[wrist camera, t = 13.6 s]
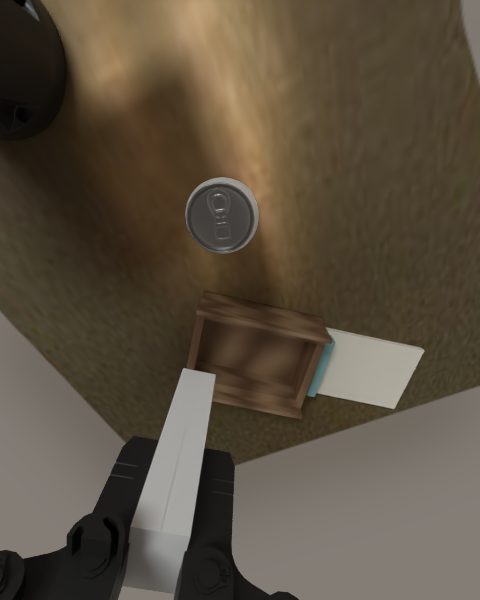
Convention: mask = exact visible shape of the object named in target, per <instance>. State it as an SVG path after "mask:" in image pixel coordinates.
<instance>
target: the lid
mask: <svg viewBox="0 0 480 600" xmlns="http://www.w3.org/2000/svg"><path fill="white" fill-rule="evenodd" d="M326 329H327V331H328V333H329V335H330V336H331V338H332V340H333V341H332V344H328V343H326V345H325V347H324V350H323V352H322V355H321V357H320V360H319V363H318V365H317V368H316V370H315V373H314V375H313V378H312V381H311V383H310V386H309V388H308V391H307V394H306V396H311V397H315V395H316V393H318V394H323V395H328V396H333V397H338V398H343V399H348V400H353V401H358V402H363V403H368V404H372V405H377V406H382V407H387V408H392V409H394V408H395V406H396V405H397V403H398V401H399V399H400V397H401V395H402V393H403V391H404V389H405V387H406V385H407V383H408V381H409V380H410V378H411V376H412V374H413V372H414V370H415V368H416V366H417V364H418V362H419V360H420V358H421V356H422V354H423V353H424V351H425V350H424V349H422V348H420V347H415V346H410V345H406V344H401V343H396V342H392V341H387V340H382V339H378V338H373V337H368V336H364V335H359V334H354V333H350V332H345V331H340V330H336V329H331V328H326Z"/></svg>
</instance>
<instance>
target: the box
mask: <svg viewBox="0 0 480 600" xmlns="http://www.w3.org/2000/svg"><path fill="white" fill-rule="evenodd" d="M196 314H197V316H196V321H195V326H194V331H193V336H192V341H191V346H190V351H189V357H188V362H187V367H186V369H190V370H195V371H200V372H205V373H210V374H215V375H216V377H215V383H214V389H213V396H212V401H214V402H219V403H223V404H228V405H233V406H238V407H243V408H248V409H252V410H257V411H262V412H267V413H272V414H277V415H281V416H286V417H291V418H296V419H302V417H303V416H302V412H301V406H302V404H303V401H304V399H305V396H306V394H307V391H308V388H309V386H310V383H311V381H312V378H313V375H314V373H315V370H316V368H317V365H318V363H319V360H320V357H321V355H322V352H323V350H324V347H325V345H326V343H328V344H332V341H333V340H332V338H331V336H330V335H329V333H328V331H327V329H326V327H325V325H324V323H323V321H322V320H321V318H320V317H318V316H313V315H309V314H305V313H300V312H296V311H291V310H287V309H283V308H278V307H274V306H269V305H265V304H261V303H256V302H252V301H247V300H243V299H239V298H234V297H230V296H225V295H221V294H216V293H212V292H208V291H204V293H203V296H202V298H201V300H200V303H199V305H198V308H197V310H196Z"/></svg>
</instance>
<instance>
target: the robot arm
mask: <svg viewBox="0 0 480 600" xmlns="http://www.w3.org/2000/svg"><path fill="white" fill-rule="evenodd" d="M65 84H66V66H65V58H64V53H63V48H62V44H61V41H60V38H59V35H58V32H57V30H56V28H55V25H54V23H53V21H52V19H51V17H50V15H49V14H48V12H47V10H46V9H45V7H44V6H43V4H42V3H41V1H40V0H0V139H5V140H19V139H25V138H28V137H31V136H34V135H36V134H37V133H39V132H41V131H42V130H43V129H45V128H46V127H47V126H48V125H49V124H50V123H51V121H52V120H53V119H54V117H55V116H56V114H57V112H58V110H59V108H60V106H61V103H62V100H63V96H64V91H65ZM215 377H216V375H215V374H210V373H205V372H200V371H195V370H190V369H185V368H183V370H182V373H181V376H180V379H179V382H178V385H177V388H176V391H175V394H174V397H173V400H172V403H171V406H170V409H169V412H168V415H167V418H166V421H165V424H164V427H163V430H162V433H161V436H160V439H159V441H158V440H153V439H147V438H142V437H137V436H133V437H132V438H131V439H130V440H129V441H128V442H127V443H126V444H125V445H124V446H123V447H122V450H121V452H120V454H119V456H118V458H117V461H116V463H115V465H114V467H113V469H112V471H111V474H110V476H109V478H108V480H107V482H106V484H105V487H104V489H103V491H102V493H101V495H100V497H99V500H98V502H97V504H96V506H95V508H94V510H93V513H91V514H88V515H86V516H84V517H83V518H82V519H80V520H79V521H78V522H77V523H76V524H75V525H74V526H73V527H72V529H71V530H70V532H69V533H68V534H67V546H65V547H64V548H62V549H60V550H58V551H55V552H52V553H48V554H43V555H39V556H34V557H30V558H25V559H22V558H21V557H20V556H19V555H18V554H17V553H16V552H12V551H8V550H3V551H0V600H118V597H119V594H120V591H121V587H122V586H126V587H133V588H139V589H146V590H153V591H159V592H166V593H172V594H175V595H174V600H299V599H298V598H296V597H295V596H293V595H291V594H290V593H288V592H276V593H274V594H272V595H269V594H267V593H266V592H264V591H262V590H261V589H259V588H257V587H256V586H254V585H253V584H251V583H250V582H248V581H247V580H246V579H245V578H244V577H243V576H242V575H241V573H240V572H239V571H238V569H237V567H236V565H235V563H234V559H233V556H232V547H231V539H232V517H233V494H234V493H233V492H234V470H235V466H234V463H233V461H232V458H231V455H230V453H228V452H223V451H218V450H212V449H207V448H204V447H205V440H206V434H207V428H208V421H209V415H210V409H211V402H212V396H213V389H214V383H215ZM122 584H123V585H122Z"/></svg>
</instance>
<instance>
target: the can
mask: <svg viewBox="0 0 480 600" xmlns="http://www.w3.org/2000/svg"><path fill="white" fill-rule="evenodd" d="M185 217H186V224H187V227H188V230H189V232H190V234H191V236H192V237H193V239H194V240H195V241H196V242H197V243H198V244H199V245H200V246H201V247H203V248H205V249H206V250H208V251H211V252H214V253H221V254H225V253H232V252H235V251H237V250H239V249H241V248H243V247H244V246H245V245H246V244H248V242H249V241H250V240H251V239H252V237H253V236H254V234H255V232H256V230H257V226H258V221H259V210H258V205H257V202H256V199H255V197H254V195H253V193H252V191H251V190H250V189H249V188H248V187H247V186H246V185H245V184H243V183H242V182H240V181H237V180H235V179H231V178H225V177H219V178H213V179H210V180H207V181H205V182H203V183H202V184H200V185H199V186H198V187H197V188H196V189H195V190H194V191H193V192H192V194H191V196H190V197H189V200H188V202H187V206H186V212H185Z"/></svg>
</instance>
